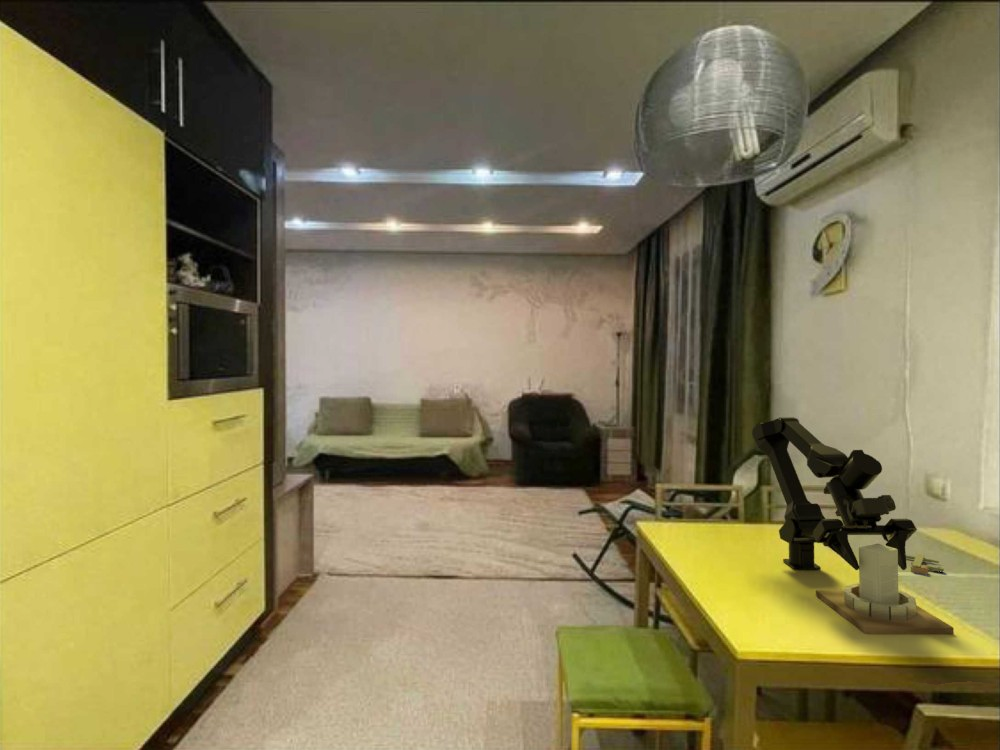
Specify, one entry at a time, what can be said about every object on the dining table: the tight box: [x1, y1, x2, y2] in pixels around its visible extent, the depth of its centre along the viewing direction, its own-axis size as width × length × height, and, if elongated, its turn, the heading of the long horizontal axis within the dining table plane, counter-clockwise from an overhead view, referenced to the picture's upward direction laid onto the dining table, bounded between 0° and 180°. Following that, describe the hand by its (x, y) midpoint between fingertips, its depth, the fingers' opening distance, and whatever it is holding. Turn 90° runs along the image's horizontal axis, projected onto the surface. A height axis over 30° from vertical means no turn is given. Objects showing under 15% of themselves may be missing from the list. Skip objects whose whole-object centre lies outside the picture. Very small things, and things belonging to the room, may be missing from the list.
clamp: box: [906, 553, 945, 575], centre depth 143 cm, size 15×2×10 cm
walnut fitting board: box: [815, 589, 955, 635], centre depth 116 cm, size 18×16×1 cm
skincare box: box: [858, 543, 899, 605], centre depth 116 cm, size 6×4×12 cm
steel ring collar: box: [843, 583, 917, 620], centre depth 116 cm, size 12×12×2 cm
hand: (881, 569), depth 115 cm, fingers open, 9 cm apart
